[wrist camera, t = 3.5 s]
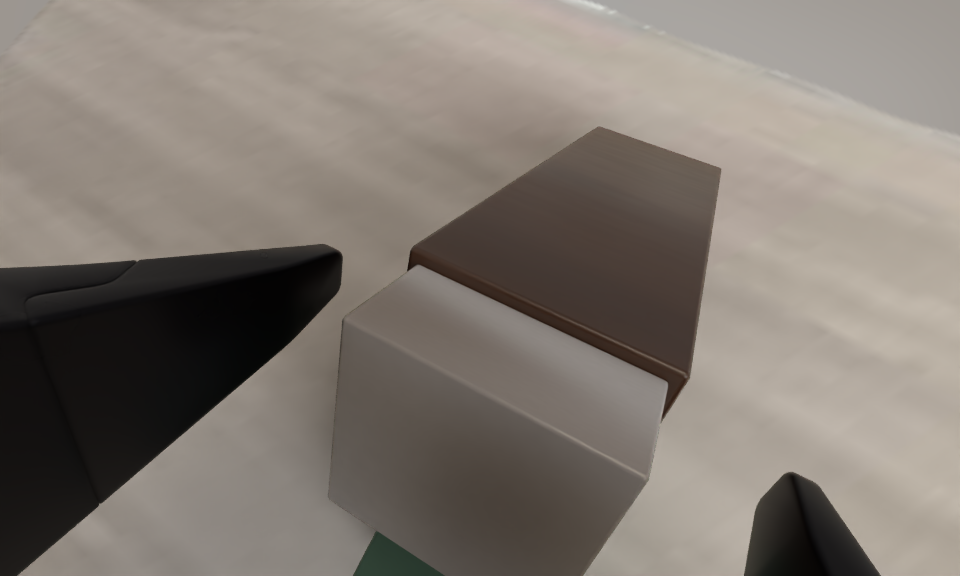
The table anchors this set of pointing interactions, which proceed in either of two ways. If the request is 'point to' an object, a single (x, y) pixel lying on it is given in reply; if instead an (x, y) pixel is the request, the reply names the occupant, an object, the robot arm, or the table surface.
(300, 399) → the table surface
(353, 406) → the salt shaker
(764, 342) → the table surface
